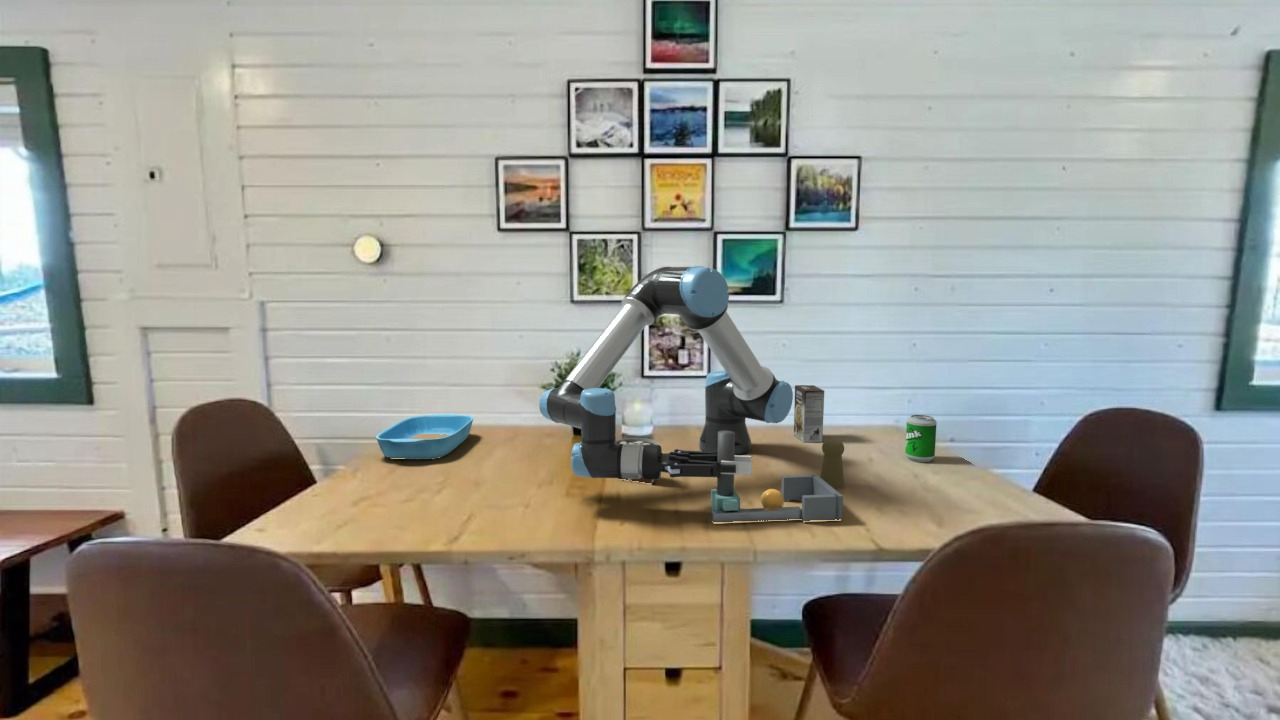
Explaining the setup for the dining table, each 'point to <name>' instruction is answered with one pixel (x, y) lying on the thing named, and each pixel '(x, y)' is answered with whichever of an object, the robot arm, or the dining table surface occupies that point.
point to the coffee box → (808, 413)
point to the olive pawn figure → (833, 463)
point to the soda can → (920, 438)
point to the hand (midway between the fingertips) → (751, 465)
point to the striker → (725, 476)
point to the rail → (757, 514)
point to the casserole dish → (399, 434)
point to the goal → (813, 497)
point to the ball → (772, 499)
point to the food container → (643, 443)
